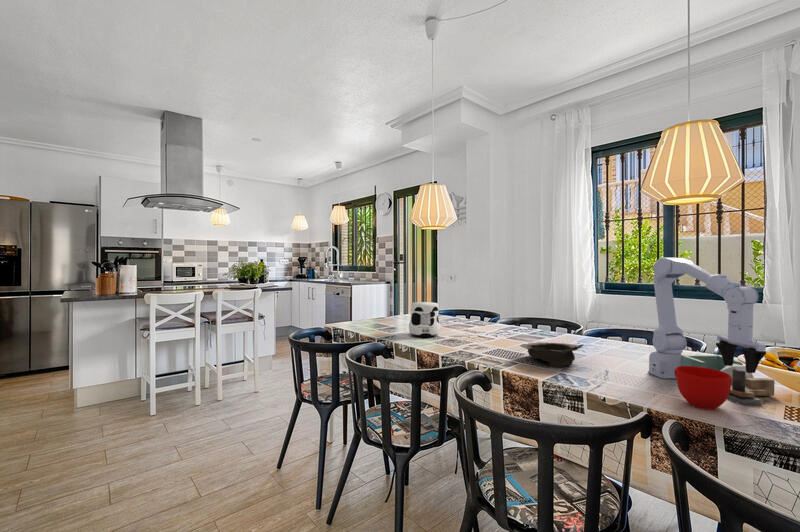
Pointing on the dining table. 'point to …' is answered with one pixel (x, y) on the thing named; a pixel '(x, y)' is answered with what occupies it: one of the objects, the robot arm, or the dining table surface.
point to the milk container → (424, 319)
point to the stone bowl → (552, 352)
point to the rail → (745, 400)
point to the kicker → (750, 385)
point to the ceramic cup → (703, 386)
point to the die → (735, 366)
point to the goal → (705, 361)
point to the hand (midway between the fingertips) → (739, 369)
